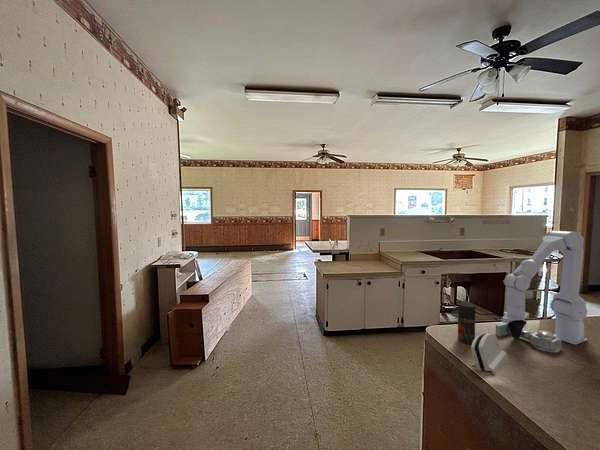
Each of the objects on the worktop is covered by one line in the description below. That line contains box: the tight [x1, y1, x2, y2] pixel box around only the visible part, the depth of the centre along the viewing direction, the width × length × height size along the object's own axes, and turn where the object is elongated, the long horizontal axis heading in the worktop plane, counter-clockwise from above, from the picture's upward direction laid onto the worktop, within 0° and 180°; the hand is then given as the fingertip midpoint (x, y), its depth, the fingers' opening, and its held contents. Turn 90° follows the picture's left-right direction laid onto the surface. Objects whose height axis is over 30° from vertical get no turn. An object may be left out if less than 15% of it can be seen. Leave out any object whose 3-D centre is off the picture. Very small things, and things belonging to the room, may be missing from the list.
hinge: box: [470, 333, 509, 376], centre depth 94 cm, size 17×5×10 cm, turn 130°
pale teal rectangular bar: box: [495, 322, 511, 337], centre depth 116 cm, size 12×2×4 cm, turn 113°
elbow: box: [519, 329, 562, 351], centre depth 106 cm, size 14×7×4 cm, turn 25°
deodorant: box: [457, 301, 476, 346], centre depth 109 cm, size 6×6×15 cm
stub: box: [531, 330, 561, 354], centre depth 103 cm, size 8×8×6 cm
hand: (515, 337), depth 110 cm, fingers closed
